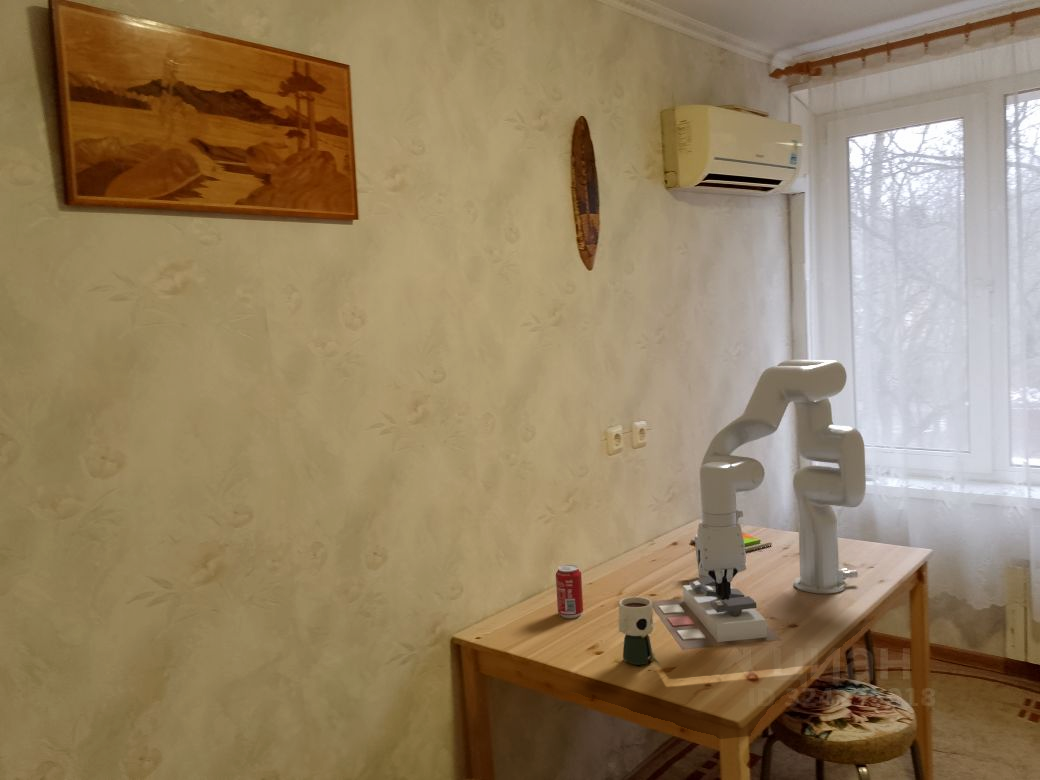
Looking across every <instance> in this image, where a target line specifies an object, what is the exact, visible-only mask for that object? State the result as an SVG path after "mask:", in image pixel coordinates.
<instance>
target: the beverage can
mask: <svg viewBox="0 0 1040 780" xmlns="http://www.w3.org/2000/svg"><path fill="white" fill-rule="evenodd" d="M557 569H558V570H557V571H556V573H555V585H556V601H557V602H556V603H557V604H556V605H557V613H558V614H559V615H561V617H562V618H564V619H574V618H575V619H576V618H579V617H580V616H581V614H582V613H583V611H584V603H583V602H584V601H583V600H584V599H583V597H584V596H583V585H582V584H583V583H582V582H583V581H582V571H581V570H580V569H579V566H578V565H577V564H576V565H575V564H564V565H563V564H562V565H560V566H558V567H557Z"/></svg>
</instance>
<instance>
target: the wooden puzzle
mask: <svg viewBox="0 0 1040 780" xmlns="http://www.w3.org/2000/svg"><path fill="white" fill-rule="evenodd" d="M742 534H743V539H744V546H745V553H748V552H747V551H749V552H751V551H750V550H753V551H755V550H754V549H757V550H759V549H758V548H761V547H765V546H769V545H772V546H773V543H772V542H771V541H766V542H765V543H762V544H761V543H760V542H762V541H763V540H761V539H760V538H756V537H754V536H752V535H749V534H747V533H744V532H743V531H742ZM690 543H691V544H695V540H694V538H693V539H690ZM769 547H770V546H769ZM765 548H766V547H765ZM761 549H762V548H761Z"/></svg>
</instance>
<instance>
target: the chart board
mask: <svg viewBox="0 0 1040 780" xmlns="http://www.w3.org/2000/svg"><path fill="white" fill-rule="evenodd" d="M651 601H652V608H653V611H655V613H656V614H657V616H658V617H659V618H660V620H661V621H662V623H663V624H664V625H665V627H666V629H667V630H668V631H669V633H670V634H671V636H672V637H673V639H674V640H675V641H676V643H677V644H678V645H679V647H680V648H681V650H690V649H702V648H703V649H704V648H711V647H720V646H721V647H722V646H732V645H733V646H734V645H743V644H745V645H746V644H753V643H755V644H756V643H763V642H764V643H766V642H775V641H782V639H781V638H780V636H779V635H777V634H776V633H775V632H774V631H773V630H772V629H771V628H770V627H769V626H768V625H767V624H766V632H767V637H765V638H754V639H744V640H733V641H723V642H717V640H716V639H715V638H714V637H713V636H712V634H711V633H710V632H709V631H708V630H707V628H706V627H705V626H704V625H703V624H702V622H701V621H700V620H699V619H698V618H697V616H696V615H695V614H694V613H693V612H692V610H691V609H690V608H689V607H688V606H687V604H686V603H685V602H684V597H683V598H672V599H661V600H660V599H659V600H651Z"/></svg>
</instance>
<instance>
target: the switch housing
mask: <svg viewBox="0 0 1040 780" xmlns="http://www.w3.org/2000/svg"><path fill="white" fill-rule="evenodd" d="M682 586H683V587H682V588H683V598H684V602H685V603H686V604H687V606H688V607H689V608H690V609H691V610H692V612H693V613H694V614H695V615H696V616H697V618H698V619H699V620H700V621H701V622H702V624H703V625H704V626H705V627H706V628H707V630H708V631H709V632H710V633H711V634H712V636H713V637H714V638H715V639H716V640H717V642H723V641H733V640H744V639H754V638H765V637H767V632H766V625H767V619H766V618H765V617H764V616H763V615H762V613H760V612H759V611H758V610H757V609H756V608H753V609H744V610H742V613H741V615H740V616H737V617H735V616H733V615H732V614H731V613H730V612H729V611H727V612H719V613H717V612H716V611H715V610H714V609H713V608H712V606H711V601H712V600H718V599H717V598H716V597H712V596H706V595H705V594H704V593H703V592H702V591H699V592H695V591H694V590H693V589H692V588H691V587H690V584H685V585H682ZM731 588H733V587H732V586H731Z"/></svg>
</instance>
